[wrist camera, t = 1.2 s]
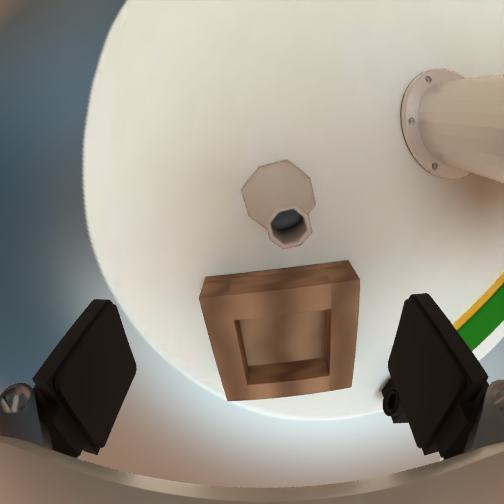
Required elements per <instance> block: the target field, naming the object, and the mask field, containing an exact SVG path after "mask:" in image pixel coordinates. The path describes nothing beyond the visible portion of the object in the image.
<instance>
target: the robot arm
mask: <svg viewBox="0 0 504 504" xmlns="http://www.w3.org/2000/svg"><path fill="white" fill-rule="evenodd" d="M425 80H426V81H425ZM401 119H402V128H403V133H404V137H405V139H406V142H407V145H408V147H409V149H410V151H411V153H412V155H413V156H414V157H415V159H416V160H417V161H418V163H419V164H420V165H421V166H422V167H424V168H425V169H426V170H427V171H429V172H430V173H432V174H434V175H436V176H439V177H441V178H446V179H459V178H463V177H465V176H467V175H469V174H471V173H475V174H478V175H481V176H484V177H487V178H489V179H492V180H495V181H498V182H501V183H503V184H504V75H500V76H488V77H478V78H469V79H465V78H464V77H462V76H461V75H459V74H457V73H455V72H453V71H450V70H446V69H434V70H429V71H426V72H424V73H421V74H420V75H419V76H417V77H416V78H415V79H414V80H413V81H412V82H411V83H410V85H409V87H408V88H407V90H406V92H405V95H404V99H403V102H402V111H401ZM408 119H409V121H410V123H408ZM388 370H389V373H390V375H391V378H392V380H393V383H394V385H395V388H396V390H397V393H398V395H399V398H400V400H401V403H402V406H403V408H404V411H405V414H406V417H407V419H408V422H409V425H410V428H411V430H412V433H413V436H414V439H415V442H416V444H417V446H418V447H419V448H422V450H423V453H424V455H428V454H431V453H435V452H438V451H439V453H440V456H441V458H440V460H439V462H436V463H433V464H429V465H425V466H422V467H418V468H414V469H410V470H406V471H402V472H398V473H393V474H389V475H385V476H380V477H374V478H369V479H363V480H357V481H351V482H344V483H336V484H328V485H318V486H305V487H288V488H238V487H221V486H208V485H198V484H189V483H182V482H175V481H168V480H162V479H156V478H151V477H146V476H140V475H136V474H131V473H127V472H123V471H119V470H115V469H111V468H108V467H104V466H100V465H96V464H94V463H90V462H87V461H83V460H82V458H81V455H80V454H81V452H82V450H84V451H86V452H89V453H92V454H96V455H98V452H99V450H100V448H103V447H104V446H105V444H106V442H107V439H108V437H109V434H110V432H111V429H112V427H113V424H114V422H115V420H116V417H117V415H118V413H119V410H120V408H121V406H122V403H123V401H124V399H125V396H126V394H127V392H128V390H129V387H130V385H131V382H132V380H133V378H134V376H135V374H136V363H135V360H134V357H133V354H132V352H131V349H130V346H129V343H128V340H127V337H126V334H125V331H124V328H123V325H122V322H121V319H120V315H119V313H118V309H117V306H116V305H114V304H113V303H112V302H111V301H110V300H102V299H94V300H93V301H92V302H91V303H90V304H89V306H88V307H87V308H86V309H85V310H84V312H83V313H82V314H81V315H80V317H79V318H78V319H77V320H76V322H75V323H74V324H73V325H72V327H71V328H70V329H69V330H68V332H67V333H66V334H65V336H64V337H63V338H62V339H61V341H60V342H59V344H58V345H57V346H56V347H55V349H54V350H53V351H52V353H51V354H50V355H49V357H48V358H47V359H46V361H45V362H44V364H43V365H42V366H41V368H40V369H39V370H38V372H37V373H36V375H35V376H34V377H33V381H34V383H35V384H36V385H35V387H34V388H32V387H31V386H30V385H29V384H27V383H15V384H12V385H10V386H8V387H7V388H6V389H5V390H4V391H3V392H2V393H1V395H0V504H504V380H496V381H494V382H492V383H491V384H490V385H489V384H488V382H487V381H486V380H487V378H488V375H487V373H486V372H485V370H484V369H483V367H482V366H481V364H480V363H479V361H478V360H477V358H476V357H475V356H474V354H473V353H472V351H471V350H470V348H469V347H468V345H467V344H466V343H465V341H464V340H463V338H462V337H461V336H460V334H459V333H458V332H457V330H456V329H455V328H454V326H453V325H452V323H451V322H450V321H449V320H448V318H447V317H446V316H445V314H444V313H443V312H442V310H441V309H440V308H439V307H438V305H437V304H436V303H435V301H434V300H433V299H432V298H431V296H430V295H429V294H427V293H423V294H412V295H411V296H410V297H409V299H407V300H405V302H404V306H403V310H402V314H401V318H400V322H399V326H398V330H397V333H396V337H395V340H394V344H393V347H392V351H391V354H390V357H389V361H388Z"/></svg>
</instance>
